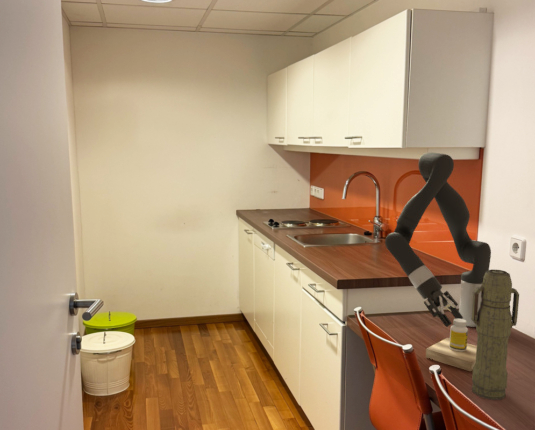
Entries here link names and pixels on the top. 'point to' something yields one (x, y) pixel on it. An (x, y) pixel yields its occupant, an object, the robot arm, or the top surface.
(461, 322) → the supplement bottle
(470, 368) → the base board
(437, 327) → the top surface
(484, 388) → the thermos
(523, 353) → the top surface
